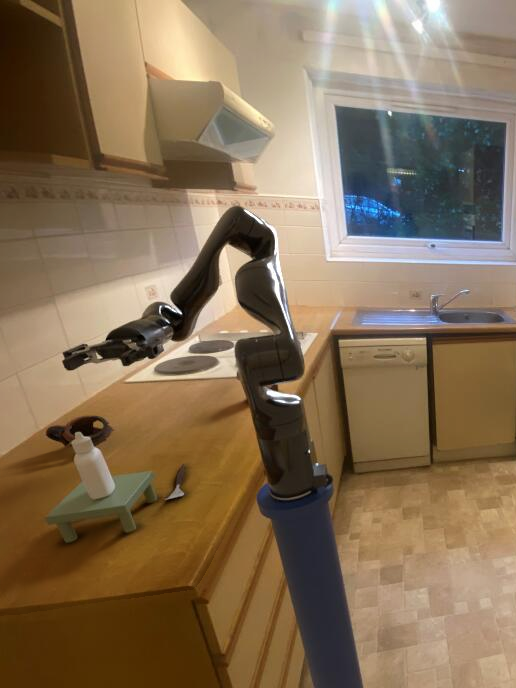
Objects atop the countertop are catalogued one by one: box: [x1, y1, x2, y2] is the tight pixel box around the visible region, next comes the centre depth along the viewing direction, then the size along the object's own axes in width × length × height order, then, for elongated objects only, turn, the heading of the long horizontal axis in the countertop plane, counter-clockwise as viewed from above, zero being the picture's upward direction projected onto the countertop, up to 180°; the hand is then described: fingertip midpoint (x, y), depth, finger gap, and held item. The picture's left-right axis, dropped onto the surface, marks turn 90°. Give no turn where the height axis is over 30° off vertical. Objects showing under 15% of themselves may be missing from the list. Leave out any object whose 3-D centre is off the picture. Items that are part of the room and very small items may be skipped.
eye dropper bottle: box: [70, 432, 115, 500], centre depth 75 cm, size 4×6×12 cm
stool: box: [44, 470, 158, 544], centre depth 79 cm, size 11×11×6 cm
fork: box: [163, 463, 185, 501], centre depth 89 cm, size 3×16×2 cm, turn 29°
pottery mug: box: [45, 415, 115, 448], centre depth 102 cm, size 12×10×8 cm
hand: (95, 363), depth 79 cm, fingers open, 8 cm apart
